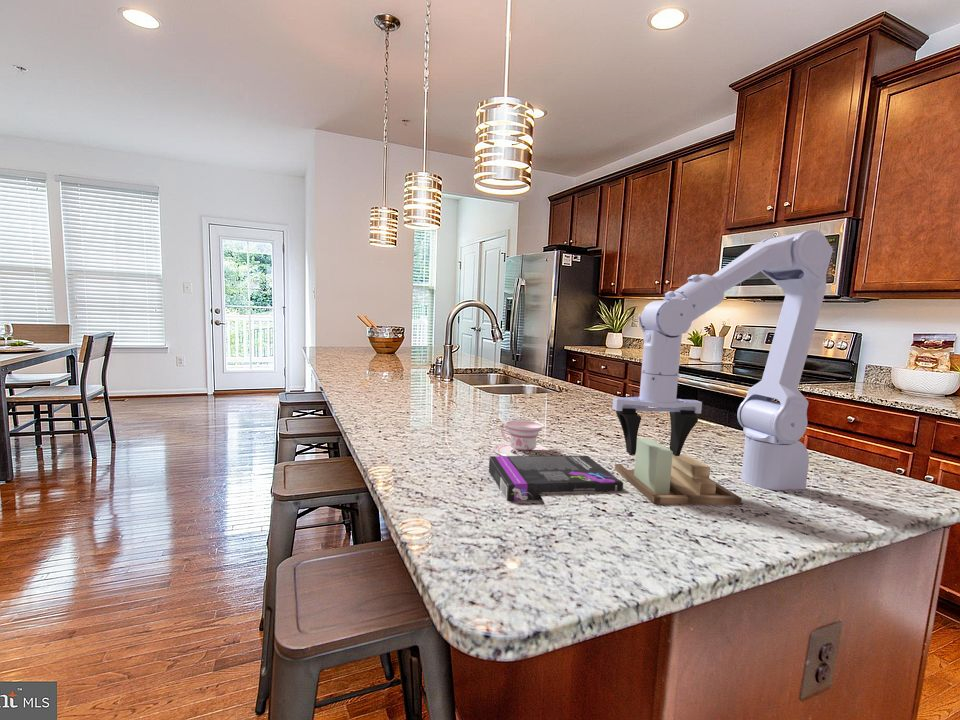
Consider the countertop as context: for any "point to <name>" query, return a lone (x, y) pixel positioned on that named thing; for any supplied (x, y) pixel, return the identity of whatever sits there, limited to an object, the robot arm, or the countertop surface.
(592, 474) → the box
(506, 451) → the teacup
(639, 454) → the pale green block
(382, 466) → the countertop surface
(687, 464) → the offcut stack
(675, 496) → the walnut rack
